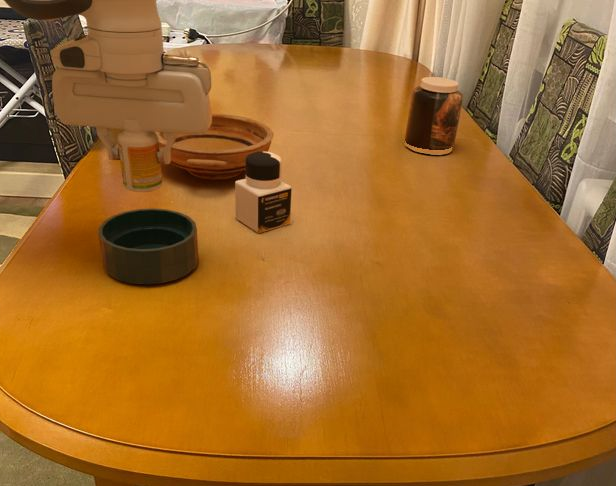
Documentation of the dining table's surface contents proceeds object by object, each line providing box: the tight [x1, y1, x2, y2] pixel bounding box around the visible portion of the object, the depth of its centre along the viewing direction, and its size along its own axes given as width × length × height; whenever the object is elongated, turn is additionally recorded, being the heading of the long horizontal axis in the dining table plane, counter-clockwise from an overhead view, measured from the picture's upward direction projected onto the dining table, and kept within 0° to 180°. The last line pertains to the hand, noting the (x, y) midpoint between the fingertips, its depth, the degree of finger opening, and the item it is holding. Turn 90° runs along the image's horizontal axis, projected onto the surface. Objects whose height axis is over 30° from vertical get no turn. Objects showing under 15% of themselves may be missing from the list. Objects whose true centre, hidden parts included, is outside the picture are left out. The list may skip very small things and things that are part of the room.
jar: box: [404, 76, 464, 150], centre depth 141 cm, size 12×12×15 cm
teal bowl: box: [97, 207, 200, 285], centre depth 92 cm, size 14×14×6 cm
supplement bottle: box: [116, 119, 163, 193], centre depth 83 cm, size 5×5×10 cm
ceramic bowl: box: [154, 113, 274, 180], centre depth 124 cm, size 30×24×8 cm
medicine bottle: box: [234, 151, 292, 234], centre depth 104 cm, size 7×7×12 cm
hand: (140, 160), depth 84 cm, fingers closed on supplement bottle, 5 cm apart
